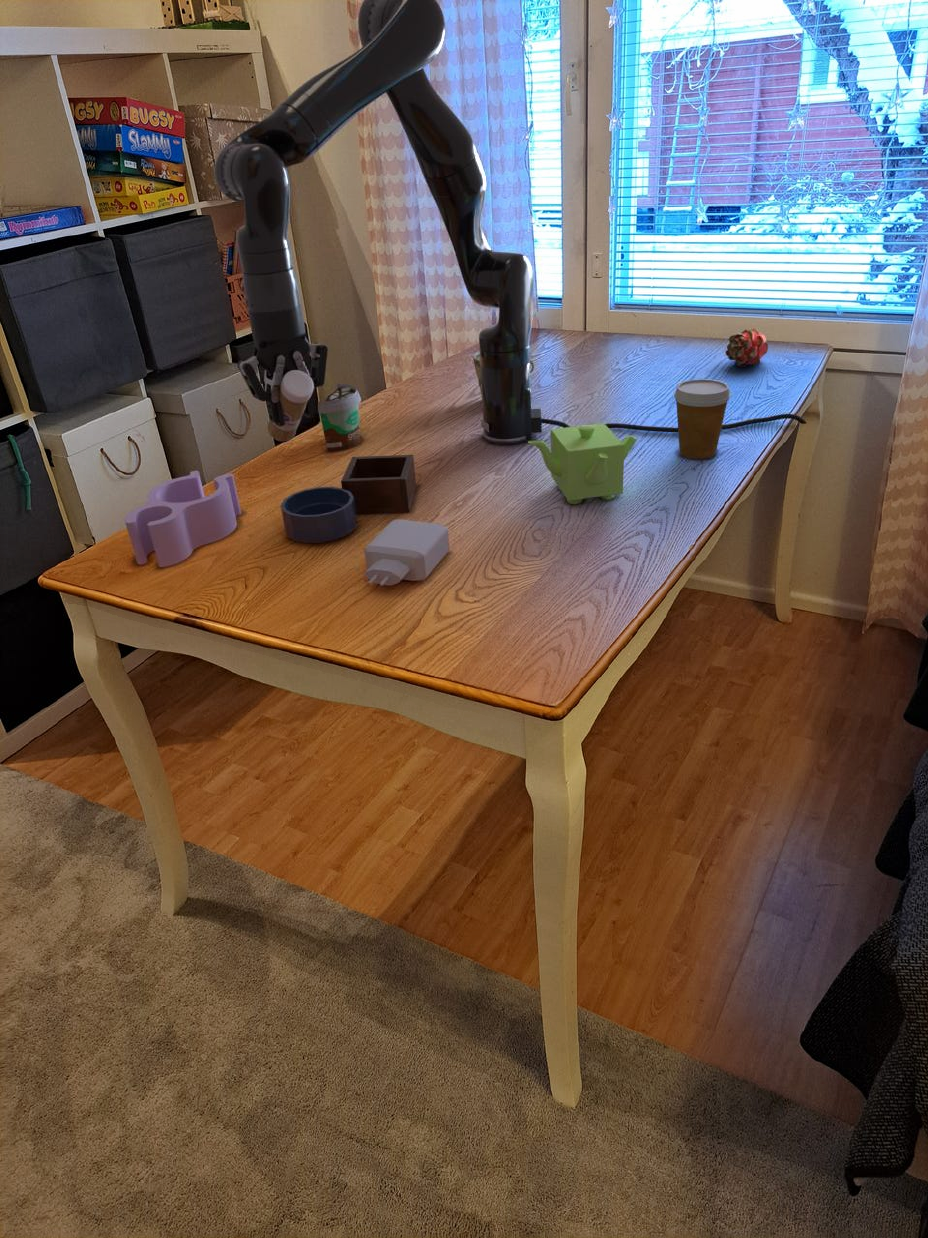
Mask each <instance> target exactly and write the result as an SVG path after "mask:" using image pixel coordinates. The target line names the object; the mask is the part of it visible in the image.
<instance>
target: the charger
mask: <svg viewBox="0 0 928 1238" xmlns="http://www.w3.org/2000/svg"><path fill="white" fill-rule="evenodd" d="M363 551H364V556H365V558H364V559H365V565H366V571H364V573H363V576H364V577H365V578H366V579H367V580H369V581H368V583H367V584H369V585H372V584H373V583H374V584H377V585H380V587H383V586H384V585H385V586H393V585H397V584H399V583H400V582H401V581H402V580H405V581H412V582H419V581H424V580H426V579H427V577H428V576H429V575H430V574H431V573H432V571H434V569H435V568H436V566H438V564H439V563H440V562H441V561H442V560H443V558H444V557H445V556H446V555H447V553H448V552H450V537H449V529H448V527H447V526H445V525H444V524H442V523H441V524H440V523H437V522H426V521H417V520H411V519H410V520H409V519H401V518H400V519H393V520H391V522H389V523H388V524H387V525H386V526H385V527H384V528H383V529H382V530H381V531H380V532H379V533H378V534H377V535H376V536H375V537H374V538H373V539H372V540H371V541H370V542H369V543H368V544H367V546H365V547H364V549H363Z"/></svg>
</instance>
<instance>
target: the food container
mask: <svg viewBox="0 0 928 1238" xmlns="http://www.w3.org/2000/svg"><path fill="white" fill-rule="evenodd" d="M336 387H337V388H336V389H335V391H334V392H331V393H330V394H328V396H327V397H326V399H325V400H324V401H317V411H318V412H317V413H318V414H319V417H320V421H321V426H322V431H323V436H324V441H325V446H326V452H338V451H345V450H348V449H351V448H353V447H356V446H358V445H359V444H360V443H361V432H360V414H359V413H360V412H359V405H360V404H361V402H362V398H361V394H360V391H359V390H358V389H357V387H356V386H354V385H352V384H347V383H336Z"/></svg>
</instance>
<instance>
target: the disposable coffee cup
mask: <svg viewBox="0 0 928 1238" xmlns="http://www.w3.org/2000/svg"><path fill="white" fill-rule="evenodd" d="M673 397H674V400H675V402H676V403H675V404H676V418H677V420H676V421H677V428H678V433H677V435H678V449H679V455H681V457H683V458H687V459H691V460H707V459H711V458H714V456H716V455H717V450H718V447H719V446H718V445H719V441H720V437H721V432H722V430H721V428H722V425H723V424H724V418H725V415H726V409H727V404H728V402H729V400H730V398H731V397H732V392H731V391H730V386H729V385H728V383H726V382H725V381H721V380H718V379H711V378H694V379H688V380H684V381H681V382H679V383H678V384H677V385H676V388H675V391H674V392H673Z"/></svg>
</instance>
